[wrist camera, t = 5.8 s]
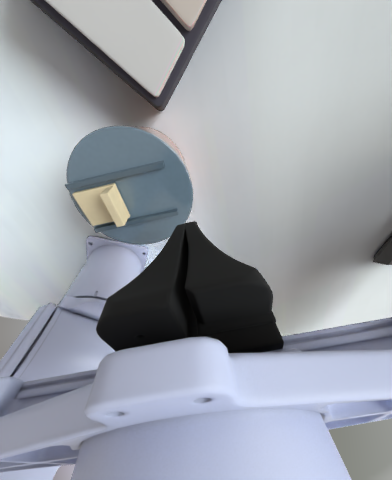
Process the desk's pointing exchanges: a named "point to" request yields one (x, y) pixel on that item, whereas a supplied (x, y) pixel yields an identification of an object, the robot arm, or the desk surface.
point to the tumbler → (134, 180)
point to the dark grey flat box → (137, 37)
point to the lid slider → (103, 205)
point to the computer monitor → (384, 253)
